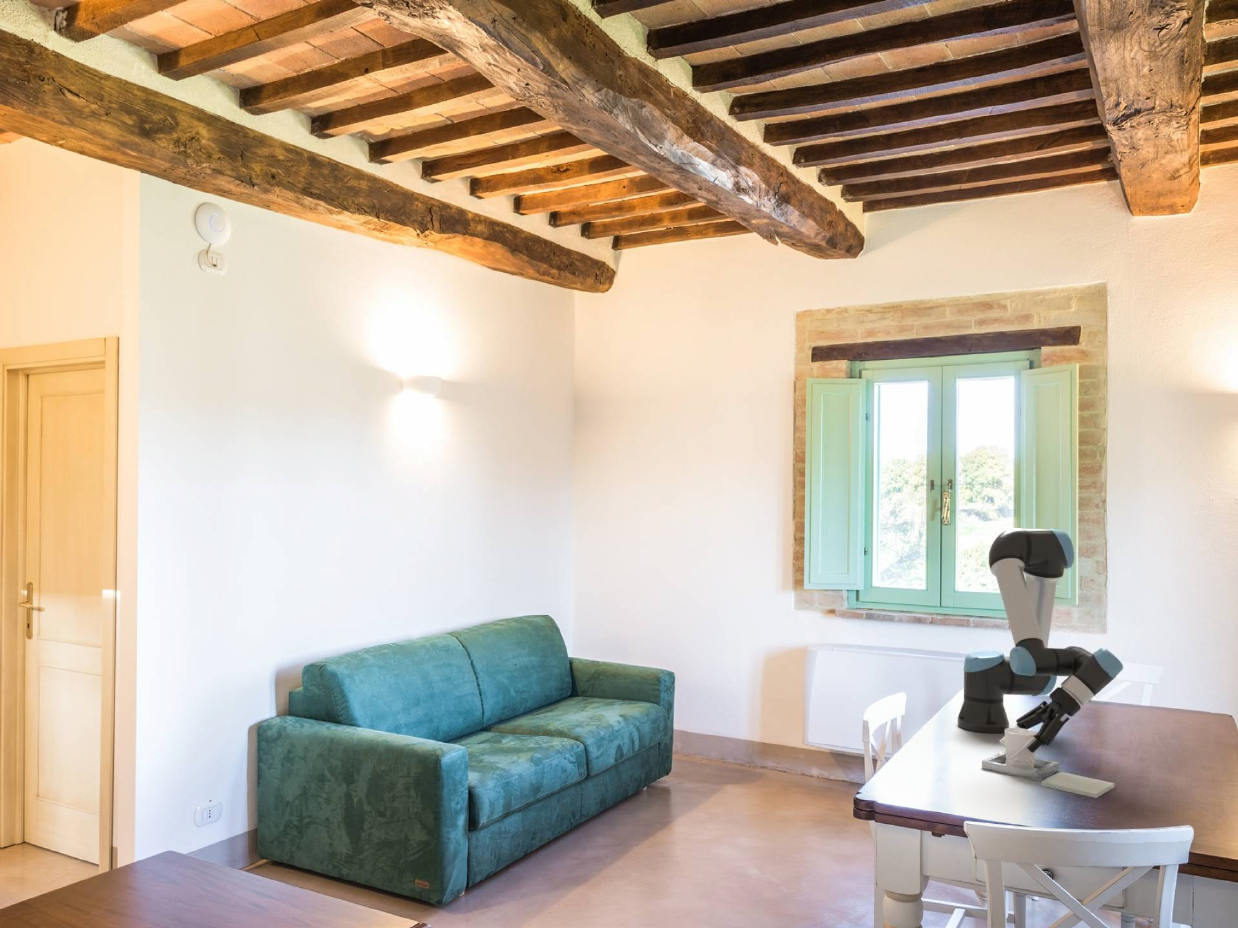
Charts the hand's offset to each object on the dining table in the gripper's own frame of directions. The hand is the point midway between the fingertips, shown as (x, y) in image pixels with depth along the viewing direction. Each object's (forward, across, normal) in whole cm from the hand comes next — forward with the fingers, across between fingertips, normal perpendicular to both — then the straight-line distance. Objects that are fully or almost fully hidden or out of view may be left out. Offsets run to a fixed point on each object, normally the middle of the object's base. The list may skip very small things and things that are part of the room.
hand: (1010, 751), depth 253 cm
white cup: (+2, 0, -5) cm, 5 cm away
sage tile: (-5, -13, -12) cm, 19 cm away
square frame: (+1, 0, -5) cm, 5 cm away
